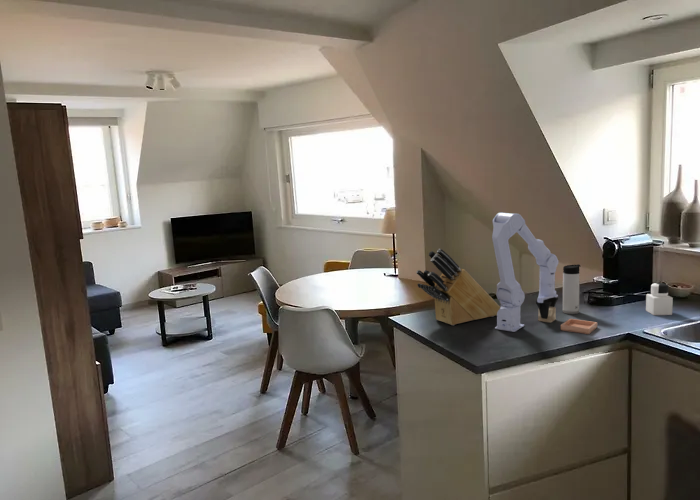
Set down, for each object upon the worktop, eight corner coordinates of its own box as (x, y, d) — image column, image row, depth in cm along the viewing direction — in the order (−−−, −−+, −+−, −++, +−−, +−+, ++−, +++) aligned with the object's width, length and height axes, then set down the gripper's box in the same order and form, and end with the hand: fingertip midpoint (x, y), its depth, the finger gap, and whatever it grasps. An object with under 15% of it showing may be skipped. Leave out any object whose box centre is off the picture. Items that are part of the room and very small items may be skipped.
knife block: (415, 324, 219) (413, 248, 215) (483, 310, 235) (482, 239, 230) (432, 330, 209) (429, 251, 205) (502, 315, 225) (501, 241, 220)
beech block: (550, 322, 212) (550, 310, 212) (538, 320, 216) (538, 308, 215) (555, 319, 216) (555, 307, 215) (543, 317, 219) (543, 305, 219)
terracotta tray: (588, 334, 196) (588, 329, 196) (560, 330, 203) (560, 324, 202) (597, 327, 204) (597, 322, 203) (570, 323, 210) (570, 318, 210)
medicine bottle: (663, 310, 221) (665, 281, 220) (672, 315, 214) (673, 285, 213) (645, 310, 222) (646, 282, 220) (653, 315, 215) (654, 285, 213)
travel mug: (581, 314, 222) (582, 266, 219) (564, 314, 223) (564, 266, 220) (578, 310, 228) (578, 263, 225) (561, 310, 229) (561, 263, 226)
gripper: (550, 287, 206) (550, 322, 208) (564, 280, 216) (563, 313, 218) (532, 285, 210) (532, 319, 212) (546, 279, 221) (546, 311, 223)
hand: (546, 316), depth 216 cm, fingers closed on beech block, 5 cm apart
